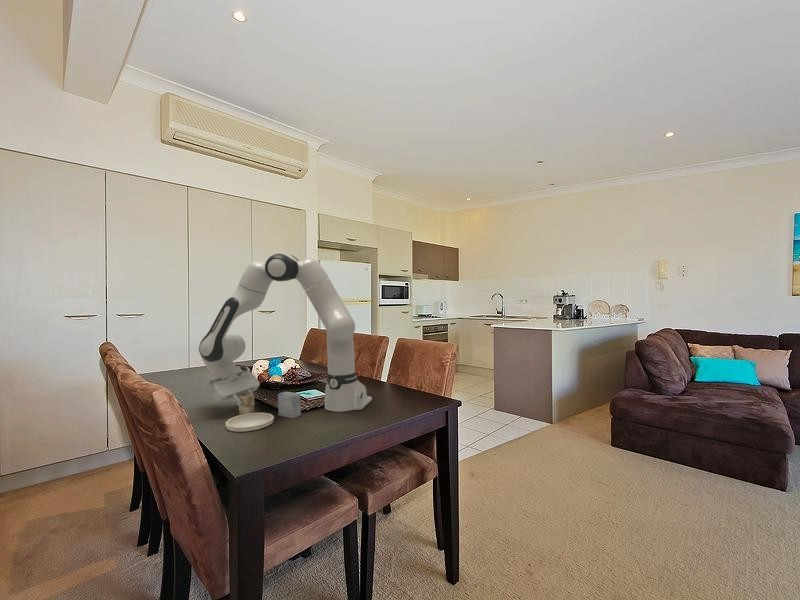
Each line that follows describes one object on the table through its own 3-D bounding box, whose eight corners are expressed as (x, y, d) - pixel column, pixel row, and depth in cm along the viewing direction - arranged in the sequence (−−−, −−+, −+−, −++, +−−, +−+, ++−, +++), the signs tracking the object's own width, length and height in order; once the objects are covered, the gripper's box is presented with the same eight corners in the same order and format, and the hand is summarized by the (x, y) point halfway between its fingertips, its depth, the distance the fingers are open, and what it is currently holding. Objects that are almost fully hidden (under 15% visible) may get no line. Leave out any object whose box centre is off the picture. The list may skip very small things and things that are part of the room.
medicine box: (301, 415, 148) (300, 393, 148) (292, 419, 144) (292, 396, 144) (286, 412, 152) (286, 391, 152) (277, 416, 148) (277, 393, 148)
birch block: (247, 411, 155) (246, 394, 154) (254, 412, 153) (254, 395, 153) (239, 414, 151) (238, 396, 151) (246, 415, 149) (246, 397, 149)
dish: (250, 415, 150) (250, 410, 150) (282, 420, 143) (282, 415, 143) (215, 428, 135) (215, 424, 135) (249, 435, 129) (249, 430, 129)
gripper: (209, 376, 145) (229, 404, 141) (251, 366, 164) (269, 391, 160) (201, 387, 147) (221, 415, 143) (243, 376, 166) (261, 400, 162)
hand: (246, 402), depth 152 cm, fingers closed on birch block, 4 cm apart
